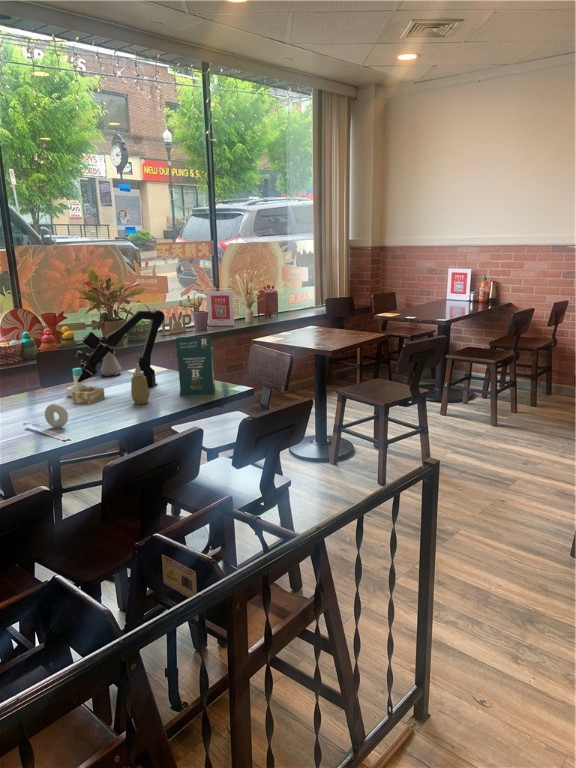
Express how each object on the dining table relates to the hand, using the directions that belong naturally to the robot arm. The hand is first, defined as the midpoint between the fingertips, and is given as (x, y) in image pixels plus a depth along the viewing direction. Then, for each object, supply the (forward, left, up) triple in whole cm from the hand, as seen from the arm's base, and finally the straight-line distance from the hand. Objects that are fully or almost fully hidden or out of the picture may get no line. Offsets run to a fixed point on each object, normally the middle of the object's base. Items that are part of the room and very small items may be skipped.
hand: (77, 379), depth 270 cm
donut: (-24, +46, -8) cm, 52 cm away
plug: (0, 0, -7) cm, 8 cm away
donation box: (-55, -17, -8) cm, 58 cm away
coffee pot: (+10, -37, -8) cm, 39 cm away
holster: (0, 0, -7) cm, 8 cm away
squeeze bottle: (-38, +7, -8) cm, 40 cm away
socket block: (-11, +8, -7) cm, 16 cm away
